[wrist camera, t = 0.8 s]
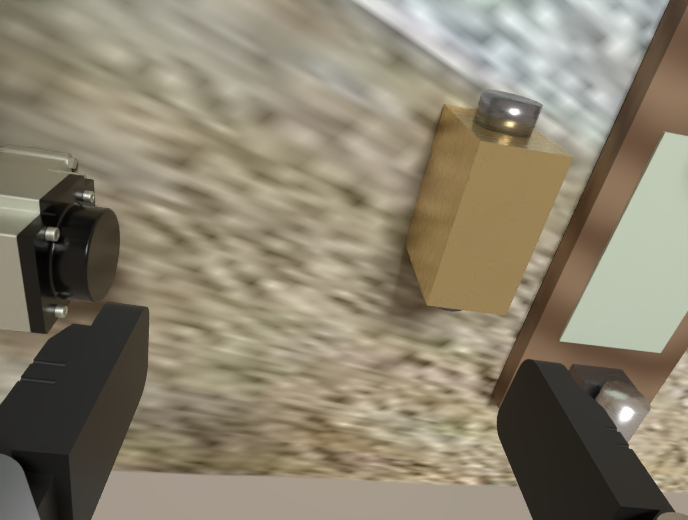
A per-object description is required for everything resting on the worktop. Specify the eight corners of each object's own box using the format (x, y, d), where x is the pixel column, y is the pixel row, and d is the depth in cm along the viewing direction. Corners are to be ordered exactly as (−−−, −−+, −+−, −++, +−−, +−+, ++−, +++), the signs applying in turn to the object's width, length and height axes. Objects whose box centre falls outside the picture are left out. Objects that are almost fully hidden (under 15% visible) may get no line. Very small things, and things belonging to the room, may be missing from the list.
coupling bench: (678, -17, 26) (780, -13, 20) (870, 29, 28) (1014, 45, 22) (492, 393, 40) (522, 462, 34) (628, 406, 42) (678, 475, 36)
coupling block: (451, 76, 28) (491, 106, 22) (527, 91, 28) (587, 124, 22) (399, 262, 33) (419, 327, 27) (463, 271, 34) (496, 336, 28)
